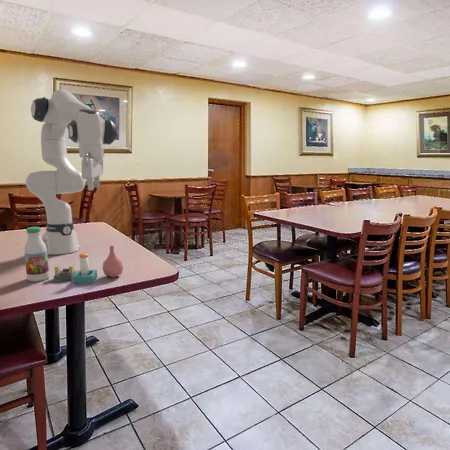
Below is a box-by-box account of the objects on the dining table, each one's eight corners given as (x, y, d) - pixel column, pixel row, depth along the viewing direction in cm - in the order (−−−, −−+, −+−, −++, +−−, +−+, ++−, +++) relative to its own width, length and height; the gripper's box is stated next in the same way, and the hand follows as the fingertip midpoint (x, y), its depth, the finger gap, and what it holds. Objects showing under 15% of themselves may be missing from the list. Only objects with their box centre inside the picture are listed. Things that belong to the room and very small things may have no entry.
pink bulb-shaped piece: (124, 272, 156) (123, 243, 153) (122, 279, 148) (120, 248, 146) (104, 273, 154) (102, 244, 152) (101, 280, 147) (99, 249, 145)
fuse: (79, 278, 146) (77, 254, 144) (86, 276, 148) (84, 253, 147) (84, 280, 144) (82, 255, 142) (91, 278, 146) (89, 254, 145)
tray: (73, 284, 142) (72, 276, 141) (78, 277, 150) (78, 270, 149) (92, 283, 143) (92, 276, 142) (97, 277, 151) (96, 269, 150)
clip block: (54, 281, 146) (52, 268, 145) (59, 275, 152) (58, 263, 151) (71, 280, 147) (70, 267, 146) (76, 275, 153) (75, 262, 152)
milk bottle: (24, 278, 149) (18, 227, 145) (45, 274, 154) (40, 224, 151) (31, 283, 144) (25, 230, 140) (52, 278, 149) (47, 227, 145)
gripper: (93, 153, 140) (96, 192, 143) (105, 152, 160) (107, 185, 163) (75, 153, 139) (78, 192, 142) (89, 151, 159) (91, 185, 162)
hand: (93, 188), depth 153 cm, fingers open, 8 cm apart
